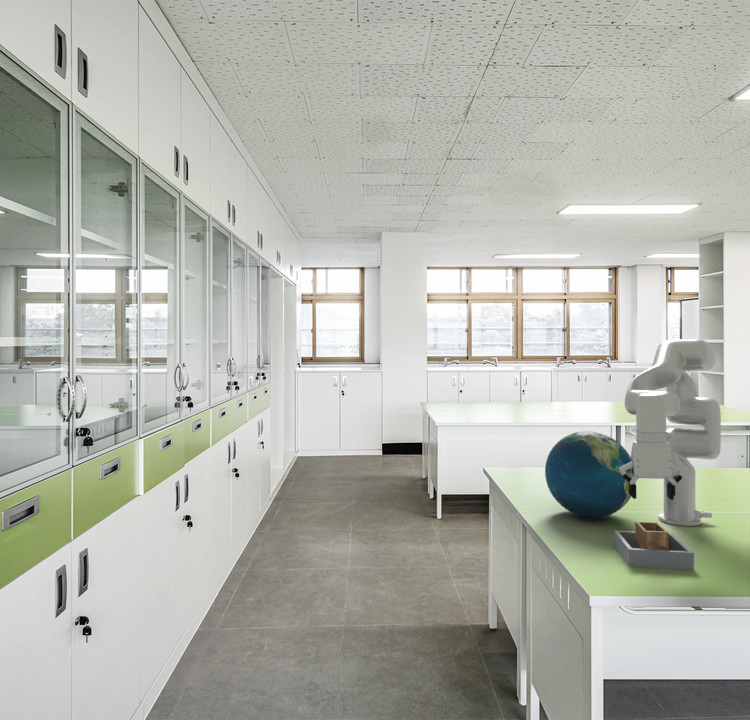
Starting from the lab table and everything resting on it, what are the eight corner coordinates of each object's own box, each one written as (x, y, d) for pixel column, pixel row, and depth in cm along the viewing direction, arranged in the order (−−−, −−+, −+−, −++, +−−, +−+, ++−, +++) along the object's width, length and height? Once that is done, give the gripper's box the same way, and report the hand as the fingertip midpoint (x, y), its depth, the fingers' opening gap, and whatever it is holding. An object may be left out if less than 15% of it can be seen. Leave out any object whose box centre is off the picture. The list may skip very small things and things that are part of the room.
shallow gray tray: (672, 550, 158) (672, 533, 158) (693, 571, 142) (693, 553, 142) (614, 547, 161) (614, 530, 161) (628, 567, 145) (628, 549, 145)
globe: (579, 533, 172) (579, 439, 172) (529, 508, 201) (528, 427, 200) (656, 525, 180) (655, 435, 180) (597, 502, 208) (596, 424, 208)
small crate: (657, 550, 155) (657, 522, 155) (668, 561, 146) (668, 532, 146) (635, 548, 156) (635, 521, 156) (644, 560, 147) (644, 531, 147)
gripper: (679, 435, 153) (680, 495, 154) (615, 435, 156) (615, 493, 157) (690, 440, 146) (690, 502, 146) (621, 439, 149) (622, 500, 149)
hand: (651, 497), depth 152 cm, fingers open, 9 cm apart
